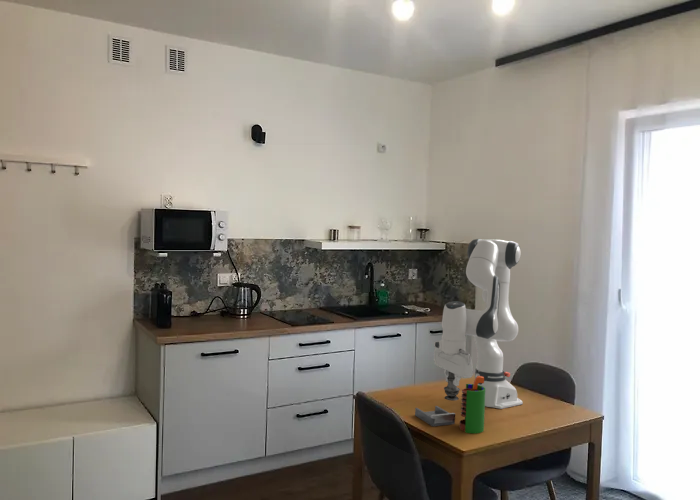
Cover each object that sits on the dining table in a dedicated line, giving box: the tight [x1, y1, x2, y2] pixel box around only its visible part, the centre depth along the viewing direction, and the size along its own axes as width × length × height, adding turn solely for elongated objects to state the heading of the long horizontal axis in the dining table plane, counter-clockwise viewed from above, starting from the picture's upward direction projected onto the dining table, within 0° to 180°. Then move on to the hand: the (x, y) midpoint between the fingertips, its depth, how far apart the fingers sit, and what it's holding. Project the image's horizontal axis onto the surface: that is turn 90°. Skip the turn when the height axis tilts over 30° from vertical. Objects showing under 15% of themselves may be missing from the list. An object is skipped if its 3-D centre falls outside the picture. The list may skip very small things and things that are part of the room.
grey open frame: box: [414, 405, 456, 427], centre depth 226 cm, size 13×10×4 cm
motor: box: [459, 376, 486, 434], centre depth 217 cm, size 10×9×20 cm
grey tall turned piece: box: [443, 372, 461, 401], centre depth 212 cm, size 6×6×12 cm
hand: (452, 383), depth 212 cm, fingers closed on grey tall turned piece, 3 cm apart
